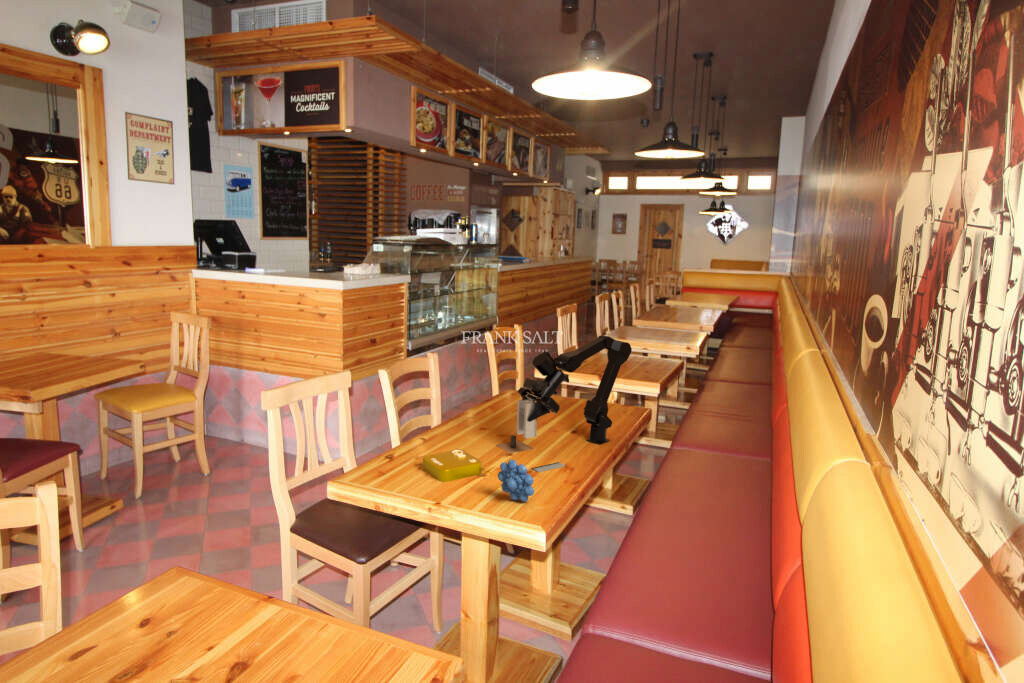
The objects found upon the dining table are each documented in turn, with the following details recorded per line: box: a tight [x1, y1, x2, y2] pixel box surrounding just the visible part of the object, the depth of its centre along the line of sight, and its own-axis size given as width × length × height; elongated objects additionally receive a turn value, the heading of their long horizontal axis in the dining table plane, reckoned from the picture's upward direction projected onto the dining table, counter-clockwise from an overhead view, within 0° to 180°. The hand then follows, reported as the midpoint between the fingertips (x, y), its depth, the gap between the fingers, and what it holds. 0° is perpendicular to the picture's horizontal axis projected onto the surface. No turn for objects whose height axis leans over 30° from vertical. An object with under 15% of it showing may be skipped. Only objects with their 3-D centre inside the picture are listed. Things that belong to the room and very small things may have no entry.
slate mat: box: [530, 461, 565, 473], centre depth 204 cm, size 11×11×1 cm
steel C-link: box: [516, 399, 538, 439], centre depth 210 cm, size 4×6×12 cm
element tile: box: [422, 448, 483, 483], centre depth 196 cm, size 15×15×5 cm
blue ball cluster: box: [497, 459, 535, 503], centre depth 173 cm, size 12×7×12 cm, turn 62°
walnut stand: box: [495, 435, 535, 454], centre depth 218 cm, size 10×10×5 cm
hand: (523, 418), depth 209 cm, fingers closed on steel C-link, 6 cm apart
